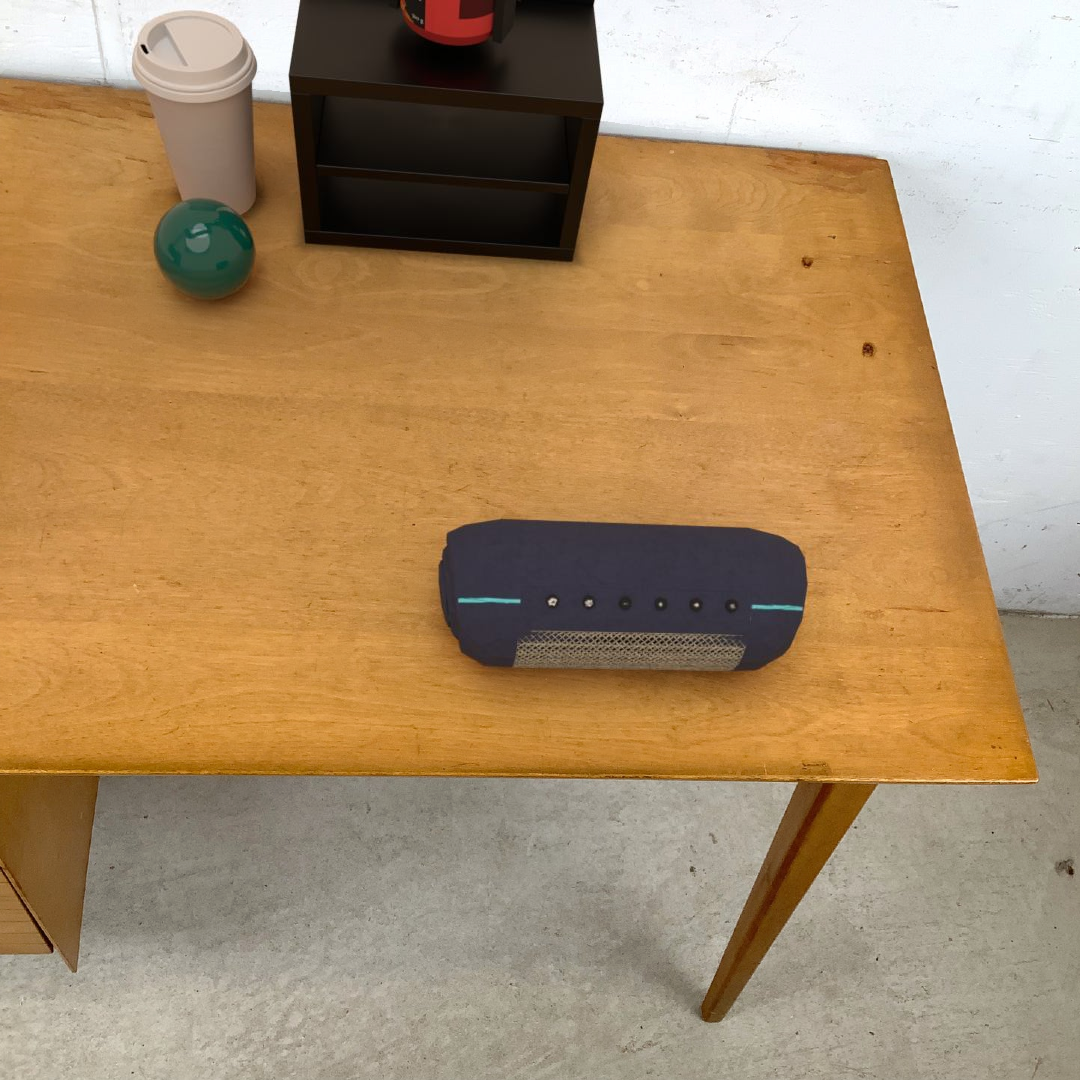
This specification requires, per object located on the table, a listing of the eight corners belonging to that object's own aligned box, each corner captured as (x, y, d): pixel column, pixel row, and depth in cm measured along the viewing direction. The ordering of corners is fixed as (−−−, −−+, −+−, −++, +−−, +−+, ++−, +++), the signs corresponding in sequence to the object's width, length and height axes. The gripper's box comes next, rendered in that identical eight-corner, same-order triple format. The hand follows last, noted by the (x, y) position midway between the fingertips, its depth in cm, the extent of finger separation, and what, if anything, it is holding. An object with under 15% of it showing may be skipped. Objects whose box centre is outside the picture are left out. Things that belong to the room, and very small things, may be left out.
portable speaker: (434, 690, 69) (439, 625, 61) (436, 563, 74) (441, 487, 66) (786, 694, 72) (838, 633, 64) (765, 573, 77) (811, 501, 69)
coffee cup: (167, 158, 93) (132, 0, 80) (274, 161, 95) (256, 7, 82) (159, 231, 88) (119, 75, 76) (272, 233, 90) (251, 81, 77)
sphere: (272, 308, 85) (262, 235, 78) (176, 329, 83) (156, 255, 76) (246, 244, 89) (234, 168, 82) (153, 262, 86) (132, 186, 80)
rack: (572, 262, 93) (608, 79, 77) (304, 243, 90) (285, 49, 74) (565, 160, 100) (597, -25, 84) (317, 140, 97) (302, -56, 81)
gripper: (280, -380, 59) (308, -1, 78) (614, -277, 57) (559, 84, 77) (337, -416, 63) (350, -47, 82) (652, -321, 61) (590, 33, 81)
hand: (451, 16), depth 79 cm, fingers closed on canned food, 8 cm apart
